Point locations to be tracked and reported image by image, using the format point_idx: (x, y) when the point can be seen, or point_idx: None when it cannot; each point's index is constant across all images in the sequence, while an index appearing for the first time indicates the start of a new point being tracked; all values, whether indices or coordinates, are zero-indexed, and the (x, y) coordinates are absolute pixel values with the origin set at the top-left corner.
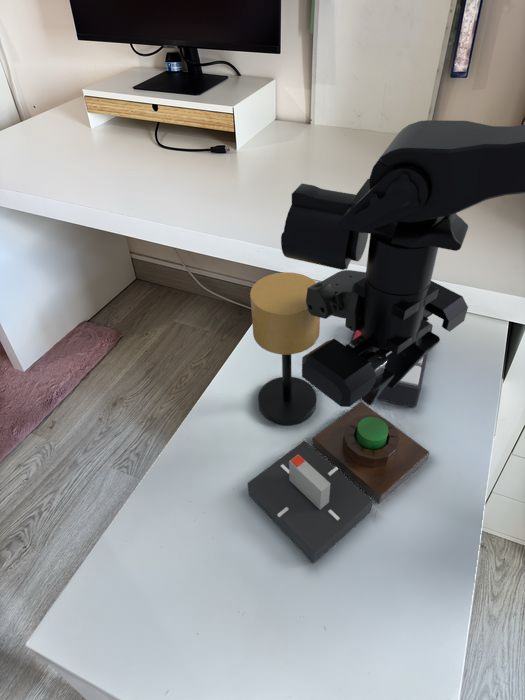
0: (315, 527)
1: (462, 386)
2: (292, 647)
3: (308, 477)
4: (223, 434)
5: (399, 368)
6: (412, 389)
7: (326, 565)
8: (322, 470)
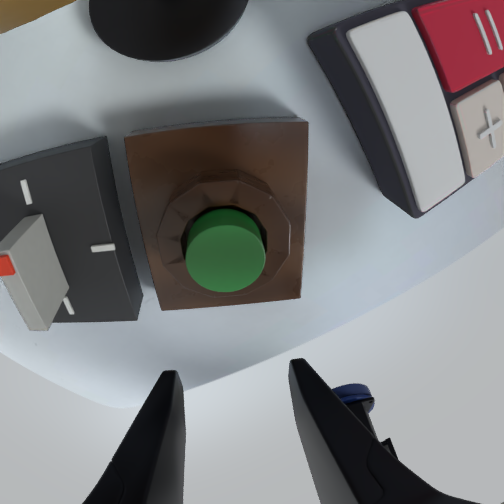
0: None
1: (462, 217)
2: (7, 337)
3: (15, 301)
4: None
5: (318, 471)
6: (406, 206)
7: None
8: (86, 234)
